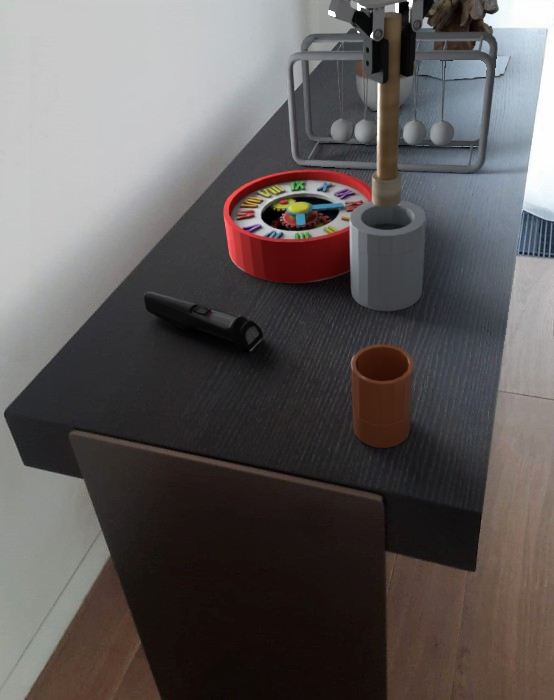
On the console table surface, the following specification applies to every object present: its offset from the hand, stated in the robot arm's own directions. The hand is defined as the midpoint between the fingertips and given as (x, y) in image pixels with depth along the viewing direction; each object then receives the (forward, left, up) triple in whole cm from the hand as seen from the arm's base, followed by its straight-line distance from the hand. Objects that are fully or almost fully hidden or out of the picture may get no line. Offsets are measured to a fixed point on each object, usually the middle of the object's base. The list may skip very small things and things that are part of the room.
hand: (388, 75), depth 69 cm
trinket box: (+51, -33, -26) cm, 66 cm away
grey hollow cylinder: (0, 0, -25) cm, 25 cm away
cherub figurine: (+60, -58, -26) cm, 87 cm away
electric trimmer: (+5, +22, -26) cm, 34 cm away
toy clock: (+16, +3, -26) cm, 30 cm away
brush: (0, 0, -14) cm, 14 cm away
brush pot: (-19, +13, -25) cm, 34 cm away
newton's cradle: (+32, -22, -26) cm, 46 cm away
